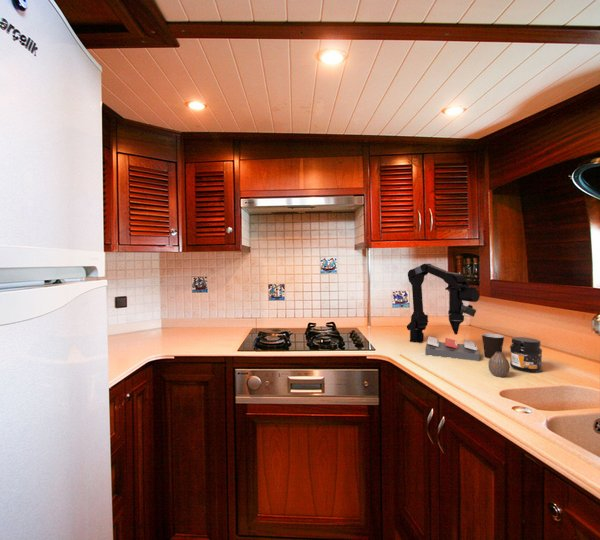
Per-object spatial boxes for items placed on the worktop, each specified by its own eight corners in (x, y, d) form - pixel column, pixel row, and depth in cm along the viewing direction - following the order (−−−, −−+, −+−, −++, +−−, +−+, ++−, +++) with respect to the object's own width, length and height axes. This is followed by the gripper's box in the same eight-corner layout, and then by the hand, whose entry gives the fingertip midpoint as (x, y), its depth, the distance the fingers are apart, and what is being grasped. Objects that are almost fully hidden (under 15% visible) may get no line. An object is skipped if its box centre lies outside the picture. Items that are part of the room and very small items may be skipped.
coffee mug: (496, 361, 138) (496, 338, 137) (477, 356, 145) (477, 334, 145) (511, 357, 143) (512, 335, 143) (492, 352, 151) (493, 332, 150)
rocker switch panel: (425, 355, 147) (425, 348, 147) (427, 346, 162) (427, 340, 162) (479, 361, 138) (479, 353, 138) (475, 351, 153) (476, 345, 152)
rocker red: (445, 345, 148) (445, 342, 147) (445, 340, 158) (445, 337, 157) (457, 348, 146) (457, 345, 145) (456, 342, 156) (456, 340, 155)
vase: (484, 372, 124) (484, 350, 123) (500, 372, 124) (501, 349, 124) (496, 379, 117) (496, 355, 117) (514, 378, 117) (514, 355, 117)
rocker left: (427, 343, 151) (427, 340, 151) (428, 338, 161) (428, 336, 161) (438, 346, 149) (438, 344, 149) (438, 341, 159) (439, 339, 159)
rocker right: (464, 347, 144) (465, 344, 144) (463, 341, 154) (463, 339, 154) (476, 350, 142) (477, 347, 142) (474, 344, 152) (475, 342, 152)
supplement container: (509, 370, 126) (510, 340, 126) (510, 363, 135) (510, 335, 135) (542, 375, 120) (543, 344, 120) (540, 367, 129) (541, 338, 129)
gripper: (476, 302, 138) (476, 338, 139) (473, 298, 155) (473, 330, 156) (448, 301, 143) (448, 335, 143) (448, 297, 160) (448, 328, 160)
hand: (455, 332), depth 151 cm, fingers open, 9 cm apart
